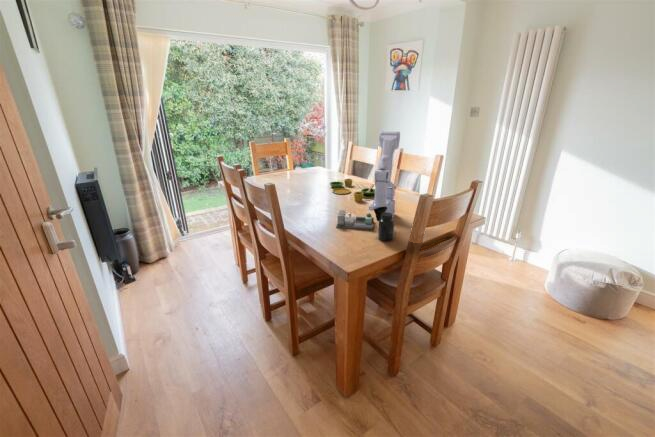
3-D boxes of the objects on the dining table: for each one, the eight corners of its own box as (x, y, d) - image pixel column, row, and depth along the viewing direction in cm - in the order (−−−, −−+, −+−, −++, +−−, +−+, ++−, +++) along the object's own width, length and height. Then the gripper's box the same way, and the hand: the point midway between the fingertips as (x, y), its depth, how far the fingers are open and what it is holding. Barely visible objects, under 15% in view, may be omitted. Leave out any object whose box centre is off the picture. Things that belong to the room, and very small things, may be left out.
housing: (354, 221, 151) (354, 212, 149) (353, 224, 147) (353, 215, 145) (345, 220, 152) (345, 211, 150) (344, 224, 148) (344, 214, 146)
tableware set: (384, 200, 185) (385, 191, 183) (342, 204, 179) (342, 194, 177) (362, 183, 222) (362, 175, 220) (326, 186, 217) (326, 178, 214)
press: (373, 221, 153) (374, 211, 151) (372, 230, 143) (373, 219, 141) (339, 219, 156) (339, 209, 154) (336, 227, 146) (336, 216, 144)
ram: (371, 221, 151) (372, 211, 149) (371, 226, 144) (371, 216, 142) (365, 220, 151) (366, 211, 149) (364, 226, 145) (365, 216, 143)
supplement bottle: (391, 235, 137) (393, 211, 133) (394, 241, 131) (397, 216, 126) (376, 235, 137) (378, 211, 133) (379, 242, 131) (381, 217, 126)
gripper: (383, 189, 148) (381, 214, 153) (364, 195, 139) (363, 222, 145) (395, 192, 143) (393, 218, 149) (376, 199, 135) (374, 226, 140)
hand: (379, 220), depth 146 cm, fingers closed
